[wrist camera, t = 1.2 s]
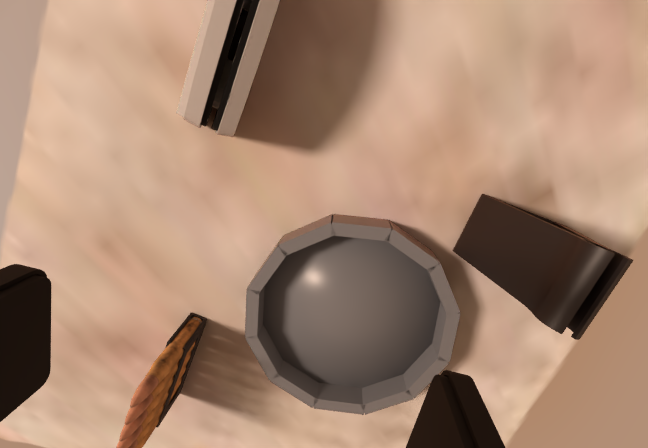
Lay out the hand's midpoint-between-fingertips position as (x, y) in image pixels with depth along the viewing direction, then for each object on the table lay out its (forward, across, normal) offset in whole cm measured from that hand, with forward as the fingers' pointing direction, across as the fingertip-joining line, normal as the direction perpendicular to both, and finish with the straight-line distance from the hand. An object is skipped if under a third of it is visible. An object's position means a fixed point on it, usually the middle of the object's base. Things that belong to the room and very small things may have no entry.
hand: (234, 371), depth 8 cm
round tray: (+26, -6, +12) cm, 29 cm away
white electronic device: (+26, +9, -11) cm, 30 cm away
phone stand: (+26, -18, +1) cm, 32 cm away
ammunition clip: (+26, +10, +22) cm, 36 cm away
